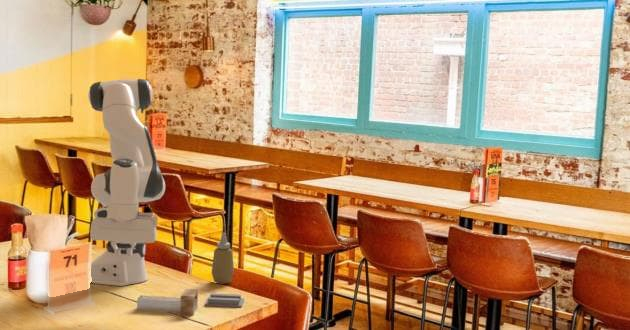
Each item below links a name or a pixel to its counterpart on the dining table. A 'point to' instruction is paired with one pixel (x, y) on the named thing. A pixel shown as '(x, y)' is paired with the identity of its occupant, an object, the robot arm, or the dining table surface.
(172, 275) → the dining table surface
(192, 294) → the brown block
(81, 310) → the dining table surface
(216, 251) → the squeeze bottle
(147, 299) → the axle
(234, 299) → the cradle
